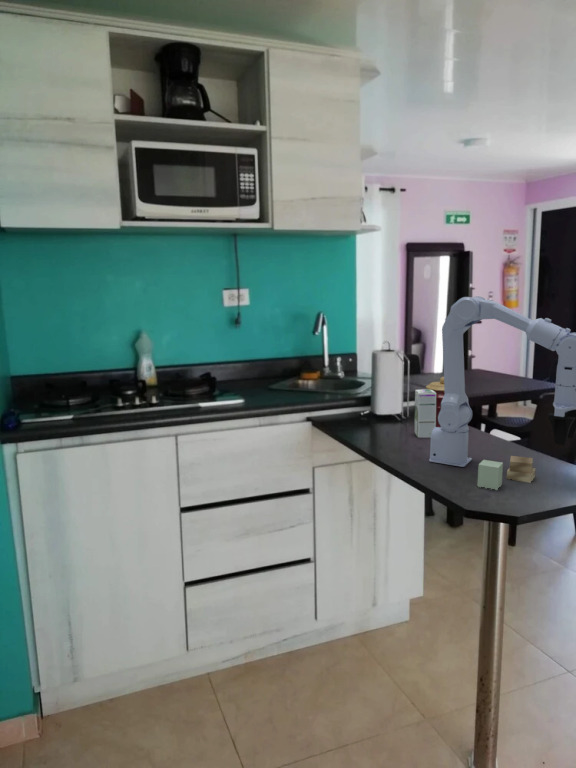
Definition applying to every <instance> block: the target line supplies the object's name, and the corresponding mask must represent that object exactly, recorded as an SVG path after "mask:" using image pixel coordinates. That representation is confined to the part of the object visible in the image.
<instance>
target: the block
mask: <svg viewBox="0 0 576 768" xmlns="http://www.w3.org/2000/svg"><path fill="white" fill-rule="evenodd" d="M477 467H478V468H477V469H478V470H477V483H476V484H477V486H478V488H481V487H485V488H484V489H487V488H491V489H490V490H492V489H495V490H494V491H498V490H499V489H500V488H501V486H502V484H503V468H504V463H503V462H501V461H495V460H489V459H488V460H487V459H483V460H481V462H479V463H478V466H477ZM477 486H476V487H477ZM499 487H500V488H499ZM498 488H499V489H498Z"/></svg>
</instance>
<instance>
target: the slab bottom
mask: <svg viewBox="0 0 576 768" xmlns="http://www.w3.org/2000/svg"><path fill="white" fill-rule="evenodd" d="M535 478H536V468H535V467H532V474H530V473H521V472H512V471H510V467H509V468H508V469H507V471H506V480H510V479H512V480H511V481H517V482H522V483H529V484H531V483H532V482H533V480H534V479H535ZM531 481H532V482H531Z"/></svg>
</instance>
